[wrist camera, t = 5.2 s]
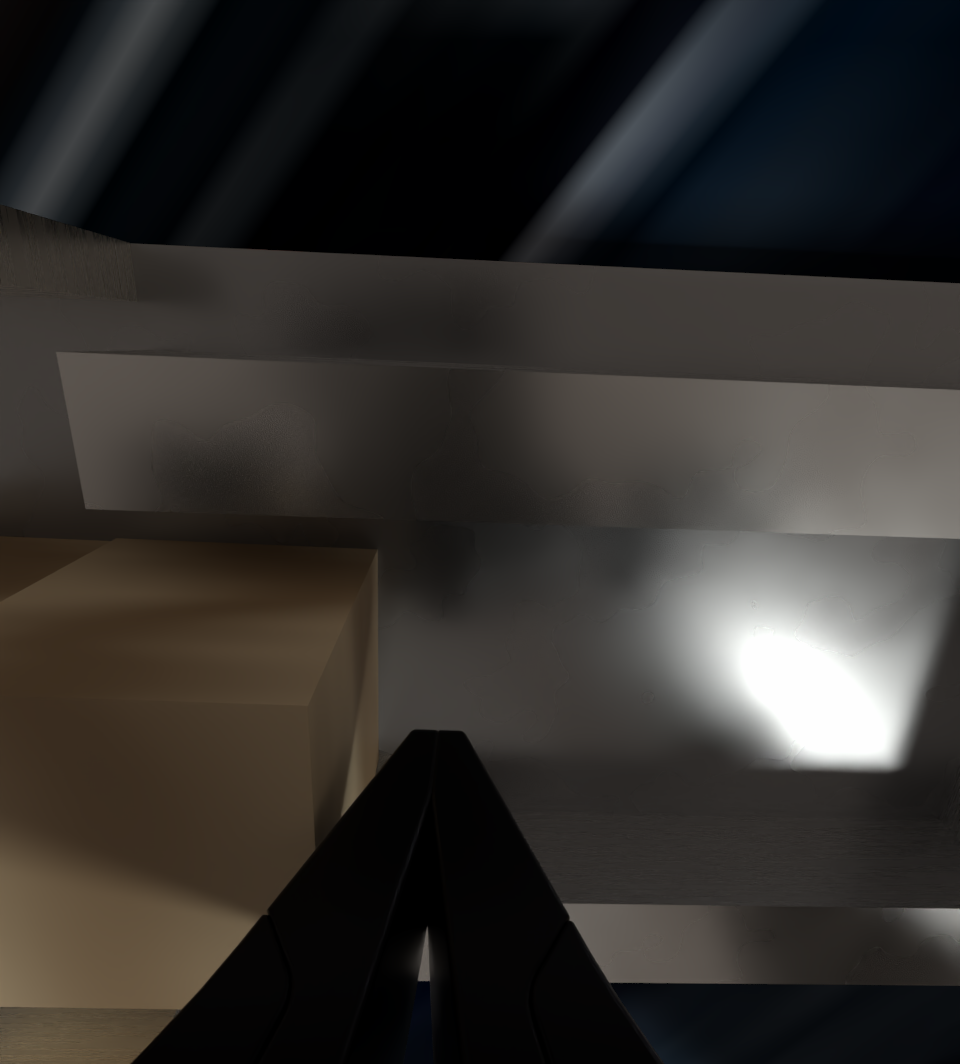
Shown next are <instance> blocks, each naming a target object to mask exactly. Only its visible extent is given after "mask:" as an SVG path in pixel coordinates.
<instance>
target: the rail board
mask: <svg viewBox="0 0 960 1064" xmlns="http://www.w3.org/2000/svg"><path fill="white" fill-rule="evenodd" d="M0 536H7V537H30V538H53V539H76V540H98V541H112V540H114V539H116V538H123V539H147V540H170V541H193V542H216V543H240V544H263V545H286V546H309V547H333V548H356V549H378V726H379V760H378V765H377V769H376V774H377V772H378V771H379V770H380V769H381V767H382V766H383V765H384V764H385V763H386V761H387V760H388V759H389V758H390V756H391V755H392V754H393V753H394V751H395V750H396V749H397V748H398V746H399V745H400V744H401V743H402V741H403V740H404V739H405V738H406V736H407V735H408V734H409V733H410V732H411V731H412V730H414V729H428V730H438V731H439V730H460V731H463V732H465V734H466V735H467V737H468V739H469V740H470V742H471V744H472V746H473V747H474V749H475V751H476V753H477V754H478V756H479V758H480V760H481V761H482V763H483V765H484V767H485V768H486V770H487V772H488V774H489V775H490V777H491V779H492V781H493V782H494V784H495V786H496V788H497V789H498V791H499V793H500V795H501V796H502V798H503V800H504V802H505V803H506V805H507V807H508V809H509V810H510V812H511V814H512V816H513V817H514V819H515V821H516V823H517V824H518V826H519V828H520V830H521V832H522V833H523V835H524V837H525V839H526V840H527V842H528V844H529V846H530V847H531V849H532V851H533V853H534V854H535V856H536V858H537V860H538V861H539V863H540V865H541V867H542V868H543V870H544V872H545V874H546V875H547V877H548V879H549V881H550V882H551V884H552V886H553V888H554V889H555V891H556V893H557V895H558V896H559V898H560V900H561V902H562V903H563V905H564V907H565V909H566V910H567V912H568V914H569V916H570V921H572V922H574V924H575V926H576V927H577V929H578V931H579V933H580V934H581V936H582V938H583V940H584V941H585V943H586V945H587V947H588V948H589V950H590V952H591V954H592V955H593V957H594V958H595V960H596V962H597V963H598V965H599V967H600V968H601V970H602V972H603V973H604V975H605V976H606V978H607V980H608V981H609V983H715V984H826V985H938V986H960V283H940V282H919V281H898V280H878V279H857V278H836V277H816V276H795V275H774V274H753V273H733V272H712V271H691V270H671V269H650V268H629V267H609V266H588V265H567V264H547V263H526V262H505V261H485V260H464V259H443V258H423V257H402V256H381V255H361V254H340V253H319V252H299V251H278V250H257V249H236V248H216V247H195V246H174V245H154V244H133V243H128V242H124V241H121V240H118V239H114V238H111V237H108V236H104V235H101V234H98V233H94V232H91V231H88V230H84V229H81V228H77V227H74V226H71V225H67V224H64V223H61V222H57V221H54V220H51V219H47V218H44V217H41V216H37V215H34V214H31V213H27V212H24V211H21V210H17V209H14V208H10V207H7V206H4V205H0ZM376 774H375V775H376ZM418 981H430V972H429V950H428V927H427V931H426V937H425V943H424V948H423V954H422V960H421V966H420V971H419V977H418ZM180 1010H181V1009H115V1008H47V1007H0V1064H130V1063H131V1062H132V1061H133V1060H134V1059H135V1058H136V1057H137V1056H138V1055H139V1054H140V1053H141V1052H142V1051H143V1050H144V1049H145V1048H146V1047H147V1046H148V1045H149V1044H150V1043H151V1042H152V1040H153V1039H154V1038H155V1037H156V1036H157V1035H158V1034H159V1033H160V1032H161V1031H162V1030H163V1029H164V1028H165V1027H166V1025H167V1024H168V1023H169V1022H170V1021H171V1020H172V1019H173V1018H174V1017H175V1016H176V1015H177V1014H178V1013H179V1012H180Z"/></svg>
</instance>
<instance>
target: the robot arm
mask: <svg viewBox="0 0 960 1064" xmlns="http://www.w3.org/2000/svg"><path fill="white" fill-rule="evenodd" d="M427 927H428V950H429V972H430V994H431V1017H432V1039H433V1061H434V1064H664V1063H663V1061H662V1060H661V1058H660V1057H659V1056H658V1054H657V1053H656V1052H655V1050H654V1049H653V1047H652V1046H651V1044H650V1043H649V1041H648V1040H647V1038H646V1037H645V1036H644V1034H643V1033H642V1031H641V1030H640V1028H639V1027H638V1025H637V1024H636V1022H635V1021H634V1020H633V1018H632V1017H631V1015H630V1014H629V1012H628V1011H627V1009H626V1008H625V1006H624V1005H623V1004H622V1002H621V1001H620V999H619V998H618V996H617V994H616V993H615V991H614V990H613V988H612V986H611V985H610V983H609V981H608V980H607V978H606V976H605V975H604V973H603V972H602V970H601V968H600V967H599V965H598V963H597V962H596V960H595V958H594V957H593V955H592V954H591V952H590V950H589V948H588V947H587V945H586V943H585V941H584V940H583V938H582V936H581V934H580V933H579V931H578V929H577V927H576V926H575V924H574V922H572V921H570V916H569V914H568V912H567V910H566V909H565V907H564V905H563V903H562V902H561V900H560V898H559V896H558V895H557V893H556V891H555V889H554V888H553V886H552V884H551V882H550V881H549V879H548V877H547V875H546V874H545V872H544V870H543V868H542V867H541V865H540V863H539V861H538V860H537V858H536V856H535V854H534V853H533V851H532V849H531V847H530V846H529V844H528V842H527V840H526V839H525V837H524V835H523V833H522V832H521V830H520V828H519V826H518V824H517V823H516V821H515V819H514V817H513V816H512V814H511V812H510V810H509V809H508V807H507V805H506V803H505V802H504V800H503V798H502V796H501V795H500V793H499V791H498V789H497V788H496V786H495V784H494V782H493V781H492V779H491V777H490V775H489V774H488V772H487V770H486V768H485V767H484V765H483V763H482V761H481V760H480V758H479V756H478V754H477V753H476V751H475V749H474V747H473V746H472V744H471V742H470V740H469V739H468V737H467V735H466V734H465V732H463V731H460V730H439V731H438V730H428V729H414V730H412V731H411V732H410V733H409V734H408V735H407V736H406V738H405V739H404V740H403V741H402V743H401V744H400V745H399V746H398V748H397V749H396V750H395V751H394V753H393V754H392V755H391V756H390V758H389V759H388V760H387V761H386V763H385V764H384V765H383V766H382V767H381V769H380V770H379V771H378V772H377V774H376V775H375V776H374V777H373V779H372V780H371V781H370V782H369V784H368V785H367V786H366V787H365V789H364V790H363V791H362V792H361V793H360V795H359V796H358V797H357V798H356V800H355V801H354V802H353V803H352V805H351V806H350V807H349V808H348V810H347V811H346V812H345V813H344V815H343V816H342V817H341V818H340V820H339V821H338V822H337V823H336V824H335V826H334V827H333V828H332V829H331V831H330V832H329V833H328V834H327V836H326V837H325V838H324V839H323V841H322V842H321V843H320V844H319V846H318V847H317V848H316V849H315V851H314V852H313V853H312V854H311V855H310V857H309V858H308V859H307V860H306V862H305V863H304V864H303V865H302V867H301V868H300V869H299V870H298V872H297V873H296V874H295V875H294V877H293V878H292V879H291V880H290V881H289V883H288V884H287V885H286V886H285V888H284V889H283V890H282V891H281V893H280V894H279V895H278V896H277V898H276V899H275V900H274V901H273V903H272V904H271V905H270V906H269V908H268V909H267V915H266V914H264V915H262V916H261V917H260V918H259V919H258V921H257V922H256V923H255V924H254V926H253V927H252V928H251V929H250V931H249V932H248V933H247V934H246V936H245V937H244V938H243V939H242V941H241V942H240V943H239V944H238V946H237V947H236V948H235V949H234V950H233V951H232V953H231V954H230V955H229V956H228V957H227V958H226V960H225V961H224V962H223V963H222V964H221V966H220V967H219V968H218V969H217V970H216V971H215V973H214V974H213V975H212V976H211V977H210V978H209V980H208V981H207V982H206V983H205V984H204V986H203V987H202V988H201V989H200V990H199V991H198V992H197V993H196V994H195V995H194V997H193V998H192V999H191V1000H190V1001H189V1002H188V1003H187V1004H186V1005H185V1006H184V1007H183V1008H182V1009H181V1010H180V1012H179V1013H178V1014H177V1015H176V1016H175V1017H174V1018H173V1019H172V1020H171V1021H170V1022H169V1023H168V1024H167V1025H166V1027H165V1028H164V1029H163V1030H162V1031H161V1032H160V1033H159V1034H158V1035H157V1036H156V1037H155V1038H154V1039H153V1040H152V1042H151V1043H150V1044H149V1045H148V1046H147V1047H146V1048H145V1049H144V1050H143V1051H142V1052H141V1053H140V1054H139V1055H138V1056H137V1057H136V1058H135V1059H134V1060H133V1061H132V1062H131V1063H130V1064H403V1062H404V1057H405V1051H406V1045H407V1040H408V1034H409V1028H410V1023H411V1017H412V1011H413V1005H414V1000H415V994H416V988H417V983H418V977H419V971H420V966H421V960H422V954H423V948H424V943H425V937H426V931H427Z"/></svg>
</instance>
